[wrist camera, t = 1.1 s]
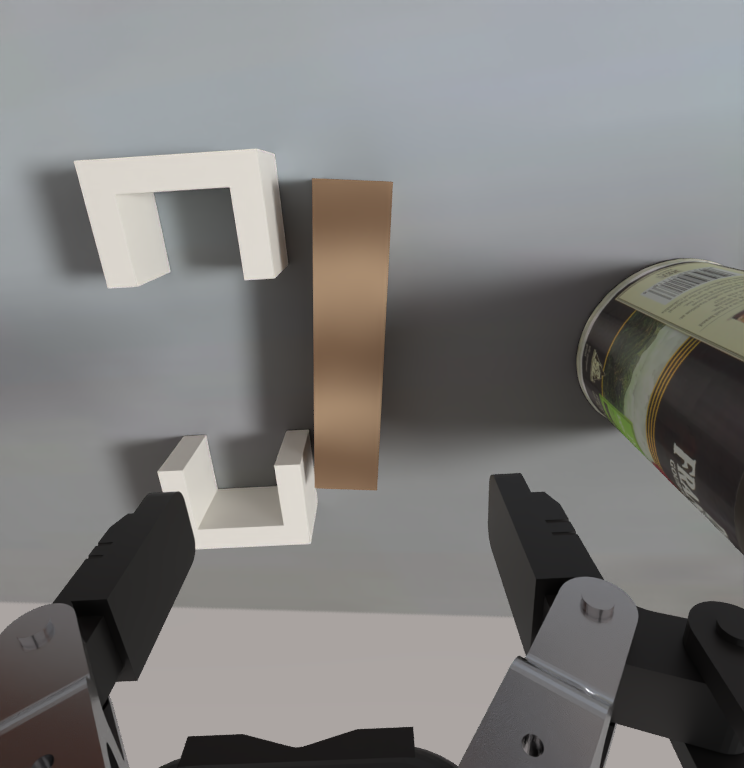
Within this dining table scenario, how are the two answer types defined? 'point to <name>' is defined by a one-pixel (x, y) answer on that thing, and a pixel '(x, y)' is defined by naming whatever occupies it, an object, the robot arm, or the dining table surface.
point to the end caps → (259, 261)
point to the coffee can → (676, 378)
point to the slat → (349, 328)
